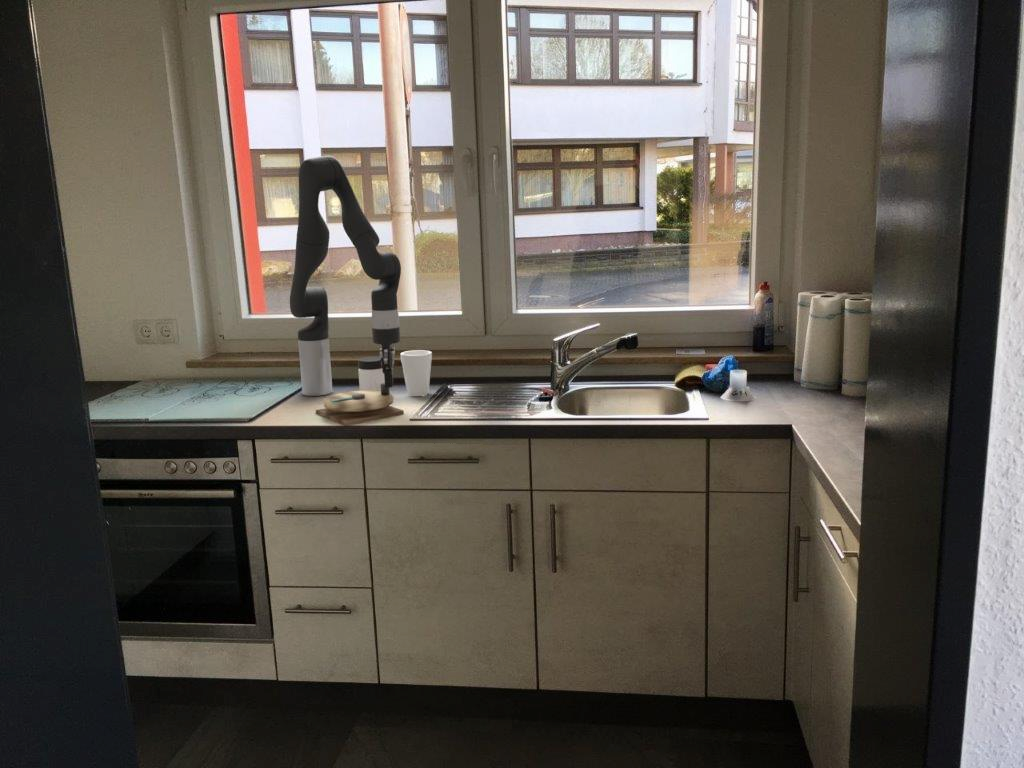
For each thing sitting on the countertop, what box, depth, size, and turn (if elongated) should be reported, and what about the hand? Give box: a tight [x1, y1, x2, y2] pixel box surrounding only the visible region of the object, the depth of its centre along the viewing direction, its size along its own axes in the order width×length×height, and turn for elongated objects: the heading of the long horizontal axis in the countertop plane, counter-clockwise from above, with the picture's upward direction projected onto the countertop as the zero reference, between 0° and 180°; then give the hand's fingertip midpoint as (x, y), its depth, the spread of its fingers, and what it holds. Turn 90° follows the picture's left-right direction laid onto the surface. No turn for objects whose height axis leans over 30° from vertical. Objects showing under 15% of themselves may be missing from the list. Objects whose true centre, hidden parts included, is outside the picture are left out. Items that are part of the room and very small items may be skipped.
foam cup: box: [400, 349, 433, 397], centre depth 254 cm, size 10×9×13 cm
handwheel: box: [323, 383, 394, 412], centre depth 232 cm, size 19×19×4 cm
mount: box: [315, 405, 405, 426], centre depth 233 cm, size 18×18×3 cm
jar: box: [357, 356, 385, 391], centre depth 251 cm, size 9×8×12 cm
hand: (389, 386), depth 234 cm, fingers closed
